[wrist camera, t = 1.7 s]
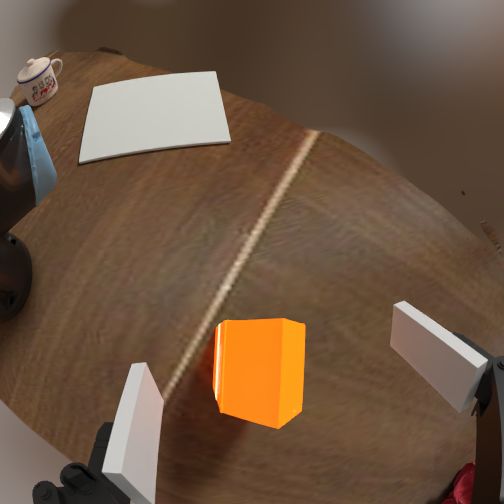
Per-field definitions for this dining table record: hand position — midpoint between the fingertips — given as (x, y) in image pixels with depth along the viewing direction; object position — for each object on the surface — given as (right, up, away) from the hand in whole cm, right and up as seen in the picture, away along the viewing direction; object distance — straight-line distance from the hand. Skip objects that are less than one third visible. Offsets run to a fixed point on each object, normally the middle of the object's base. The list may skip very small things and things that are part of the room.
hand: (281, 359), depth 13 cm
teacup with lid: (-51, +44, +33) cm, 76 cm away
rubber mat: (-21, +33, +35) cm, 53 cm away
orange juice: (-3, -10, +25) cm, 27 cm away
